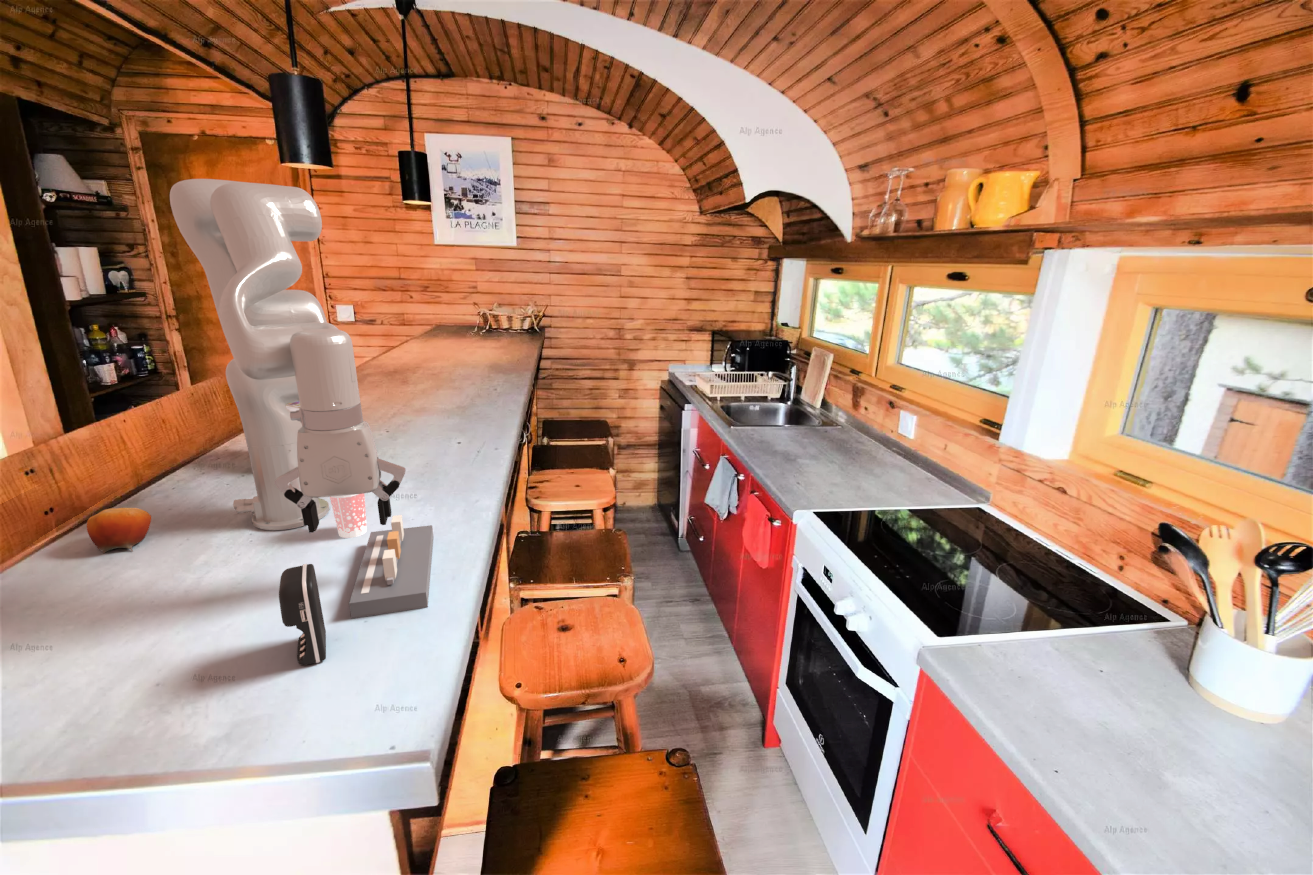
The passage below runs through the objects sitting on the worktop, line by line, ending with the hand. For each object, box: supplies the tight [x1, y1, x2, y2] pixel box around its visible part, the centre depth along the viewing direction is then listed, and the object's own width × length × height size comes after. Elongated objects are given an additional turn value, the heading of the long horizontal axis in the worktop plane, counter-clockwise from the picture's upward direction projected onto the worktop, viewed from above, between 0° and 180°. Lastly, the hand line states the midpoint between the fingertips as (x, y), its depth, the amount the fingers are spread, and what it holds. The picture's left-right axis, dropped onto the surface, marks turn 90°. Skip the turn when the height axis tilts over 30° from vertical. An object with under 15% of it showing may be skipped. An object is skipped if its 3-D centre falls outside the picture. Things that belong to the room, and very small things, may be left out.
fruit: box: [86, 507, 152, 554], centre depth 97 cm, size 8×8×8 cm
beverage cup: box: [329, 493, 368, 539], centre depth 103 cm, size 6×6×14 cm
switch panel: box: [348, 525, 434, 619], centre depth 92 cm, size 10×22×3 cm, turn 18°
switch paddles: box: [382, 514, 404, 585], centre depth 91 cm, size 1×16×4 cm, turn 18°
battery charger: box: [278, 563, 327, 666], centre depth 72 cm, size 7×4×11 cm, turn 29°
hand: (349, 524), depth 88 cm, fingers open, 9 cm apart
